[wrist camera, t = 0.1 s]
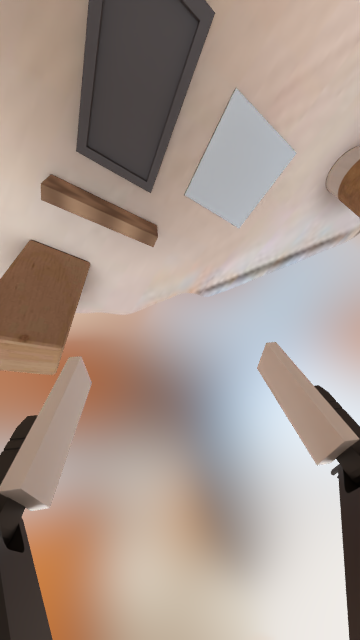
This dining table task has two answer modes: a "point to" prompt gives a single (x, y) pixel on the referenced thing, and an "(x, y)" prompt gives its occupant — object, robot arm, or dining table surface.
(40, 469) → the robot arm
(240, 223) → the pad
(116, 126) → the tray
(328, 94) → the dining table surface
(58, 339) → the wooden block
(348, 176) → the coffee cup
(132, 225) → the walnut lane walls
